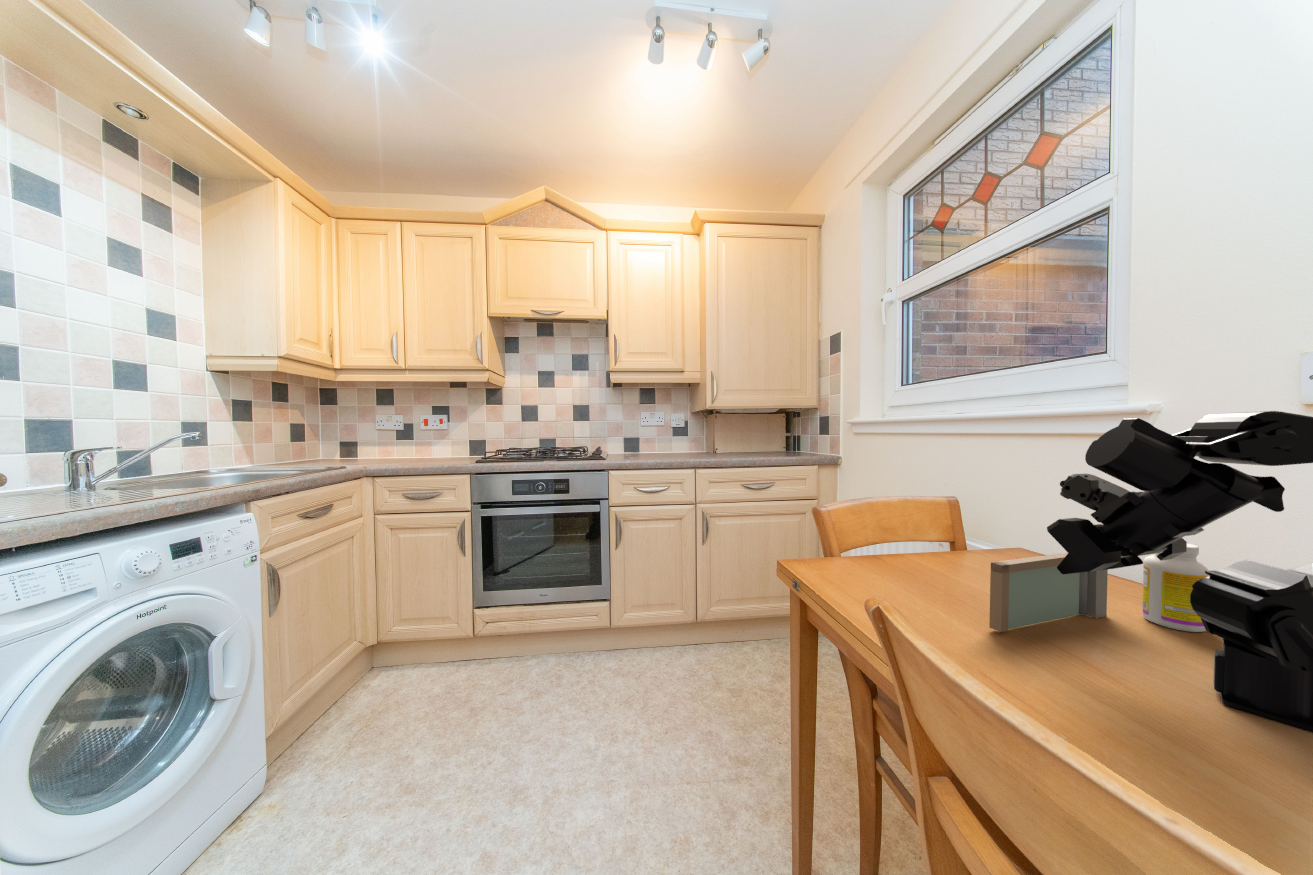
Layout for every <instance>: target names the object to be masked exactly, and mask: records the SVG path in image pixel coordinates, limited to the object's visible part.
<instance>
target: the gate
mask: <svg viewBox="0 0 1313 875" xmlns="http://www.w3.org/2000/svg"><path fill="white" fill-rule="evenodd" d="M1067 554H1068V552H1061V553H1053V554H1046V555H1039V556H1029V557H1022V558H1015V559H1014V558H1013V559H1007V560H999V561H991V562H990V580H989V581H990V582H989V584H990V585H989V586H990V588H989V589H990V590H989V624H988V625H989V626H988V628H990V629H991V630H994V631H996V632H999V633H1003V632H1008V631H1009V630H1012V629H1016V628H1021V627H1025V626H1031V625H1035V624H1040V623H1041V624H1042V623H1045V622H1050V621H1055V620H1060V619H1064V618H1070V617H1074V616H1079V615H1083V616H1086V614H1087V584H1088V572H1080V573H1072V574H1061V573H1060V571H1059V570H1058V569H1057V566H1058V565H1059V564H1060V563H1061V561H1062V560H1063V559H1064V558H1065V556H1066V555H1067Z"/></svg>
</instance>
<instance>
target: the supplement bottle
mask: <svg viewBox="0 0 1313 875" xmlns="http://www.w3.org/2000/svg"><path fill="white" fill-rule="evenodd" d="M1162 552H1163V551H1162ZM1162 552H1160V553H1162ZM1160 553H1155V554H1150V555H1148V556H1146V557H1145V558H1144V559H1143V564H1142V565H1143V566H1142V568H1143V569H1142V576H1143V577H1142V616H1143V618H1144V619H1146V620H1147V621H1150V622H1151V623H1154V624H1156V625H1159V626H1162V627H1165V628H1168V629H1172V630H1178V631H1181V632H1190V633H1191V632H1192V633H1203V632H1207V631H1206V629H1205V627H1204V625H1203V622H1202V620H1201V618H1200V617H1199V616H1198V615H1197V614H1196V612H1195V611H1194V610H1193V608H1192V606H1191V603H1190V594H1191V592H1192V590H1193V588H1192V585H1193V584H1194V583H1195V582H1196V581H1198V580H1200V579H1202V578H1204V577H1208V576H1209V575H1207V574H1206V573H1205V571H1209V569H1208V567H1207V566H1205V564H1203V563H1201V562H1200V561H1198V560H1197V557H1198V555H1199V554H1200V547H1199V546H1198V545H1195V544H1192V543H1189V542H1188V543H1187V550H1186V552H1185V553H1183V554H1181V555H1179V556H1177V557H1175V558H1173V559H1168V560H1160V559H1158V558H1157V557H1156V556H1158V555H1159V554H1160Z"/></svg>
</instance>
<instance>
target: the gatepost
mask: <svg viewBox="0 0 1313 875" xmlns="http://www.w3.org/2000/svg"><path fill="white" fill-rule="evenodd" d="M1108 571H1109V569H1107V570H1098V571H1091V572H1088V584H1087V614H1086V615H1085V616H1087V617H1090V618H1093V619H1098V618H1105V617H1107V609H1108V605H1107V604H1108V575H1109V574H1108V573H1109V572H1108Z"/></svg>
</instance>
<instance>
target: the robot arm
mask: <svg viewBox="0 0 1313 875" xmlns="http://www.w3.org/2000/svg"><path fill="white" fill-rule="evenodd" d="M1084 456H1085V463H1086V465H1088V466H1089V467H1092V468H1094V469H1097V470H1098V471H1100V472H1101V473H1104V474H1107V475H1109V476H1111V477H1112V478H1114V479H1117V480H1118V481H1121V482H1123V483H1126V484H1127V485H1129V486H1131V487H1134V488H1135V489H1138V490H1140V491H1130V490H1128V489H1126V488H1124V487H1122V486H1120V485H1117V484H1116V483H1112V482H1111V481H1109V480H1106V479H1103V478H1101V477H1099V476H1096V475H1095V474H1091V473H1072V474H1071V475H1068V476H1067V477H1066V478H1065V479H1064V480H1062V481H1061V480H1060V482H1059V486H1060V487H1061V488H1060V490H1061V491H1060V492H1059V495H1060V496H1061V497H1063V498H1064V499H1066V500H1072V501H1074V502H1075V503H1077V504H1079V505H1082V506H1083V507H1085V508H1088V509H1089V510H1093V511H1094V512H1092V513H1091V514H1090V515H1089V516H1091V517H1092V518H1093V519H1094V520H1095V521H1097V523H1098V524H1094V523H1093V522H1092V521H1091V520H1089V519H1086V518H1079V517H1070V518H1069V517H1068V518H1059V519H1057V520H1056V521H1053V522H1052V523H1051V524H1049V525H1048V526H1047V527H1046V531H1047V533H1049V535H1051V537H1053V539H1054V540H1055V541H1056V542H1057V543H1058V544H1059V545H1060V546H1061V547H1062V548H1063V549H1064V550H1065V551H1066V553H1068V554H1067V555H1066V556H1065V558H1064V559H1063V560H1062V561H1061V563H1060V564H1059V565H1058V566H1057V569H1058V570H1059V571H1060V573H1061V574H1072V573H1080V572H1091V571H1098V570H1107V569H1108V570H1114V569H1121V568H1126V567H1134V566H1140V565H1143V562H1144V560H1143V559H1141V558H1140V557H1141V556H1147V555H1148V556H1149V555H1154V554H1155V553H1160V552H1162V551H1163V552H1162V553H1160V554H1159V555H1158V556H1156V557H1157V558H1158V559H1160V560H1168V559H1173V558H1175V557H1177V556H1179V555H1181V554H1183V553H1185V552H1186V550H1187V540H1186V539H1185V538H1184V537H1189V536H1195V535H1198V534H1200V533H1201V532H1203V531H1205V529H1204V528H1203V527H1205V526H1208V525H1210V524H1212V523H1213V522H1216V521H1217V520H1220V519H1221V518H1223V517H1225V516H1227V515H1229V514H1231V513H1233V512H1235V511H1236V510H1239V509H1241V508H1242V507H1244V506H1247V505H1248V504H1251V503H1256V504H1258V505H1260V506H1261V507H1263V508H1266V509H1268V510H1271V511H1273V512H1275V513H1279V512H1280V513H1281V512H1283V511H1284V510H1285V505H1284V499H1283V494H1284V492H1285V491H1286V489H1285V487H1284V486H1283V485H1282V484H1281V483H1280V482H1279V480H1278V479H1277V477H1275V476H1272V475H1271V476H1258V475H1257V476H1255V475H1250V474H1248V473H1245V472H1244V471H1241V470H1240V469H1239V470H1238V469H1237V468H1235V467H1232V466H1229V465H1227V464H1237V465H1251V466H1252V465H1253V466H1267V467H1277V466H1278V467H1280V466H1289V465H1290V466H1291V465H1302V464H1305V465H1306V464H1313V416H1310V415H1303V414H1297V413H1291V412H1285V411H1277V410H1270V411H1269V410H1267V411H1250V412H1249V411H1246V412H1245V411H1244V412H1223V413H1211V414H1207V415H1203V416H1202V417H1201V418H1200V419H1199V420H1197V421H1196V422H1195V423H1194V424H1193V426H1191V428H1187V429H1185V430H1182V431H1180V432H1176V433H1173V434H1170V433H1168V432H1166V431H1164V430H1161V429H1159V428H1157V427H1156V426H1154V425H1153V424H1151V423H1150V422H1148V421H1146V420H1143V419H1141V418H1139V417H1135V418H1123V419H1122V420H1121V421H1120V423H1119V424H1118V426H1115V427H1114V428H1111V429H1110V430H1107V431H1106V432H1105V433H1103V434H1102V435H1101V436H1100V437H1098V438H1097V439H1096V440H1093V441H1092V442H1091V443H1090V445H1089V447H1088V448H1087V450H1086V452H1085V455H1084ZM1195 457H1198V458H1199V459H1200V460H1199V459H1197V458H1195ZM1201 459H1202V460H1201ZM1204 461H1205V462H1204ZM1208 462H1210V463H1208ZM1099 523H1100V524H1099ZM1205 573H1206V574H1207V575H1209V576H1208V577H1204V578H1202V579H1200V580H1198V581H1196V582H1195V583H1194V584H1193V585H1192V588H1193V590H1192V592H1191V594H1190V603H1191V606H1192V608H1193V610H1194V611H1195V612H1196V614H1197V615H1198V616H1199V617H1200V618H1201V620H1202V622H1203V625H1204V627H1205V629H1206V631H1205V632H1206V633H1208V634H1210V635H1214V636H1217V637H1219V638H1221V639H1222V649H1219V648H1217V649H1214V650H1213V652H1214V653H1213V679H1212V680H1213V689H1214V691H1216V692H1217V693H1219V694H1220V699H1221V703H1222V704H1223V705H1226V706H1229V707H1232V708H1235V709H1239V710H1242V711H1245V712H1248V713H1253V714H1255V715H1259V716H1262V717H1266V718H1267V719H1268V718H1269V719H1272V720H1275V721H1279V722H1283V723H1284V724H1285V723H1286V724H1289V725H1292V726H1295V727H1297V728H1298V727H1299V728H1302V729H1305V730H1308V731H1311V732H1313V562H1309V563H1306V564H1303V565H1300V566H1296V567H1294V568H1290V569H1284V568H1280V567H1276V566H1271V565H1268V564H1264V563H1260V562H1257V561H1253V560H1250V559H1245V560H1240V561H1236V562H1234V563H1233V564H1231V565H1229V566H1226V567H1224V568H1221V569H1220V568H1219V569H1216V570H1208V571H1205Z"/></svg>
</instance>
